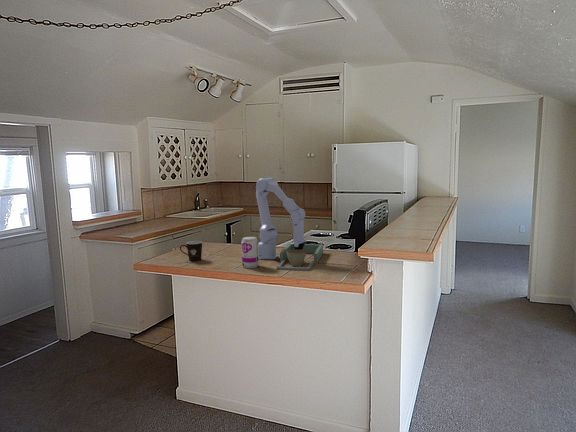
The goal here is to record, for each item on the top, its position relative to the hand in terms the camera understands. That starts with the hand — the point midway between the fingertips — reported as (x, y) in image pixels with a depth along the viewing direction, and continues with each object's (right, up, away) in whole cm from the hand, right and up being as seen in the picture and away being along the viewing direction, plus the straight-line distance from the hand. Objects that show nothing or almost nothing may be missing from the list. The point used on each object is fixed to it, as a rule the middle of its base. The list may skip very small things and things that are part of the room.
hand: (299, 257), depth 226 cm
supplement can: (-25, -4, -7) cm, 26 cm away
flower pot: (-1, -4, -6) cm, 7 cm away
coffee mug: (-58, -3, +10) cm, 59 cm away
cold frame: (+2, -1, +9) cm, 9 cm away
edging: (-2, -4, -8) cm, 9 cm away
